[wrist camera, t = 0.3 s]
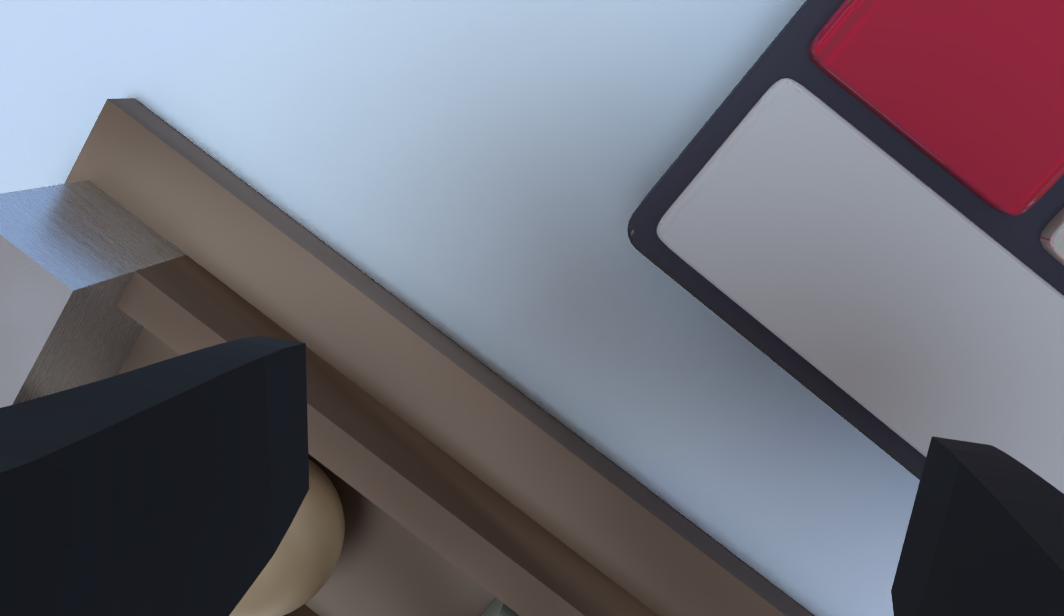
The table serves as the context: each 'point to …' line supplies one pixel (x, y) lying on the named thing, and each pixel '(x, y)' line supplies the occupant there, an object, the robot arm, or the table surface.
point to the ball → (300, 554)
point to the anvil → (67, 287)
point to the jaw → (498, 609)
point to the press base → (403, 418)
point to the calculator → (891, 219)
